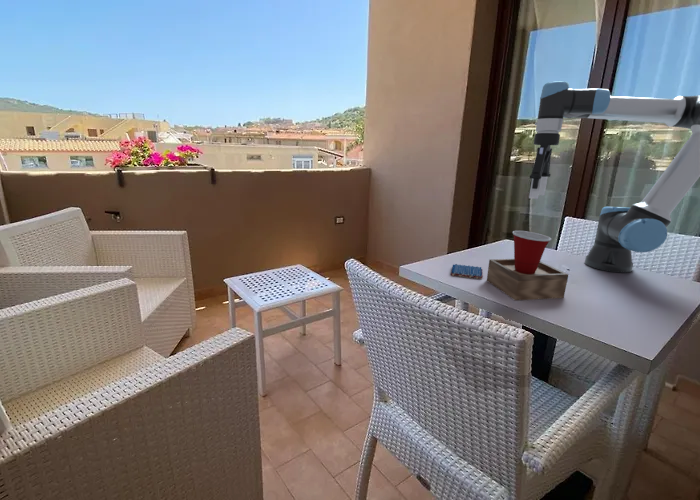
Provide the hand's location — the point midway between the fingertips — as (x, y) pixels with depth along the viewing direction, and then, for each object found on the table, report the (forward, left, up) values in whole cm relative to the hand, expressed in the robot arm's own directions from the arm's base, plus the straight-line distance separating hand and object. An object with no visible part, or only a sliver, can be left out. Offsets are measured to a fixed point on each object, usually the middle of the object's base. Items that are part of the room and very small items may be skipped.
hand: (537, 196), depth 127 cm
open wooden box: (+13, +18, -27) cm, 35 cm away
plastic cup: (+13, +18, -21) cm, 31 cm away
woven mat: (+24, +2, -27) cm, 37 cm away
